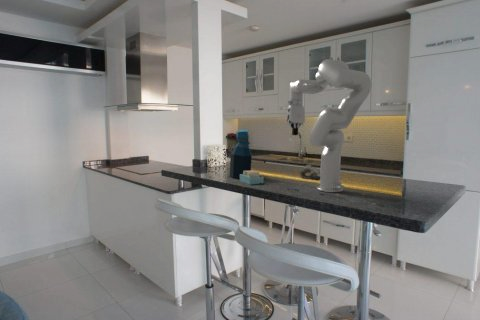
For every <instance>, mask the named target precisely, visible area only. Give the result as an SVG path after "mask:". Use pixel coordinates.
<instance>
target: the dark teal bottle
mask: <svg viewBox="0 0 480 320" xmlns="http://www.w3.org/2000/svg"><path fill="white" fill-rule="evenodd" d="M235 136H236V137H235V138H236V140H237V143H236V145H234V147H233V149H232V151H231V153H230V161H229V162H230V163H229V177H231V178H233V179H239V180H240V174H242V175H243V171H251V170H252V158H253V157H252V152H251V149H250V144H251V142H250V140H249V139H250V138H249V130H246V129H240V130H237V131H236V135H235Z"/></svg>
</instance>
